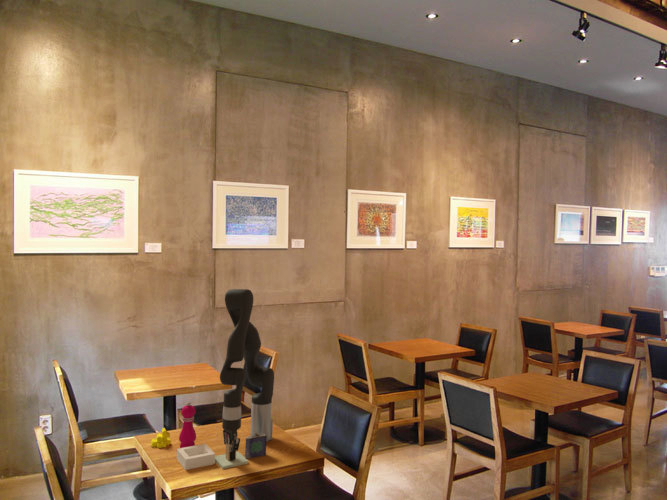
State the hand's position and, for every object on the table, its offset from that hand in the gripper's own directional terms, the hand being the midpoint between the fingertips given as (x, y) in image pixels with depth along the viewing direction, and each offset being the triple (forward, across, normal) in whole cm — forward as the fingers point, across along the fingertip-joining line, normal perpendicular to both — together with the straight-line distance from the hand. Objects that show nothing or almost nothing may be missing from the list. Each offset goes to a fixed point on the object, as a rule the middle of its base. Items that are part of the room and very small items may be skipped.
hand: (230, 458), depth 211 cm
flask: (+2, 0, -11) cm, 11 cm away
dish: (+2, +6, +12) cm, 14 cm away
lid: (+1, 0, 0) cm, 1 cm away
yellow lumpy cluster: (+2, +31, +20) cm, 37 cm away
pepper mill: (+2, +23, +11) cm, 26 cm away
